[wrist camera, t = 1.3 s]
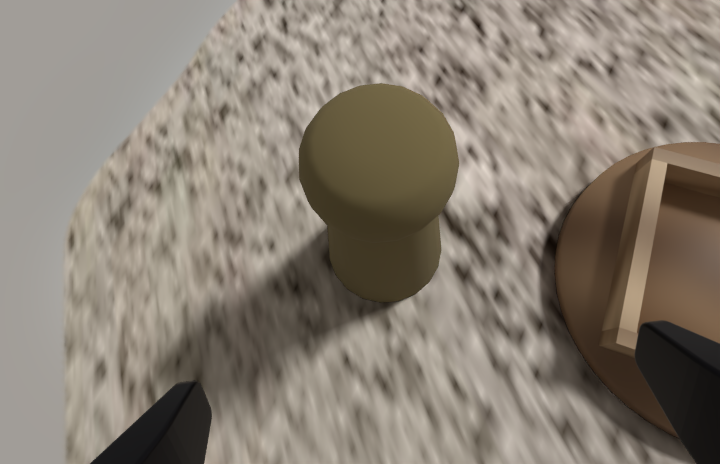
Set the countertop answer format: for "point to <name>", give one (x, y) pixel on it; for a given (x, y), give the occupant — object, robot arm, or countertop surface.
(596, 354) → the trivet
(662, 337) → the robot arm
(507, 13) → the countertop surface
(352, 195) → the pepper shaker
